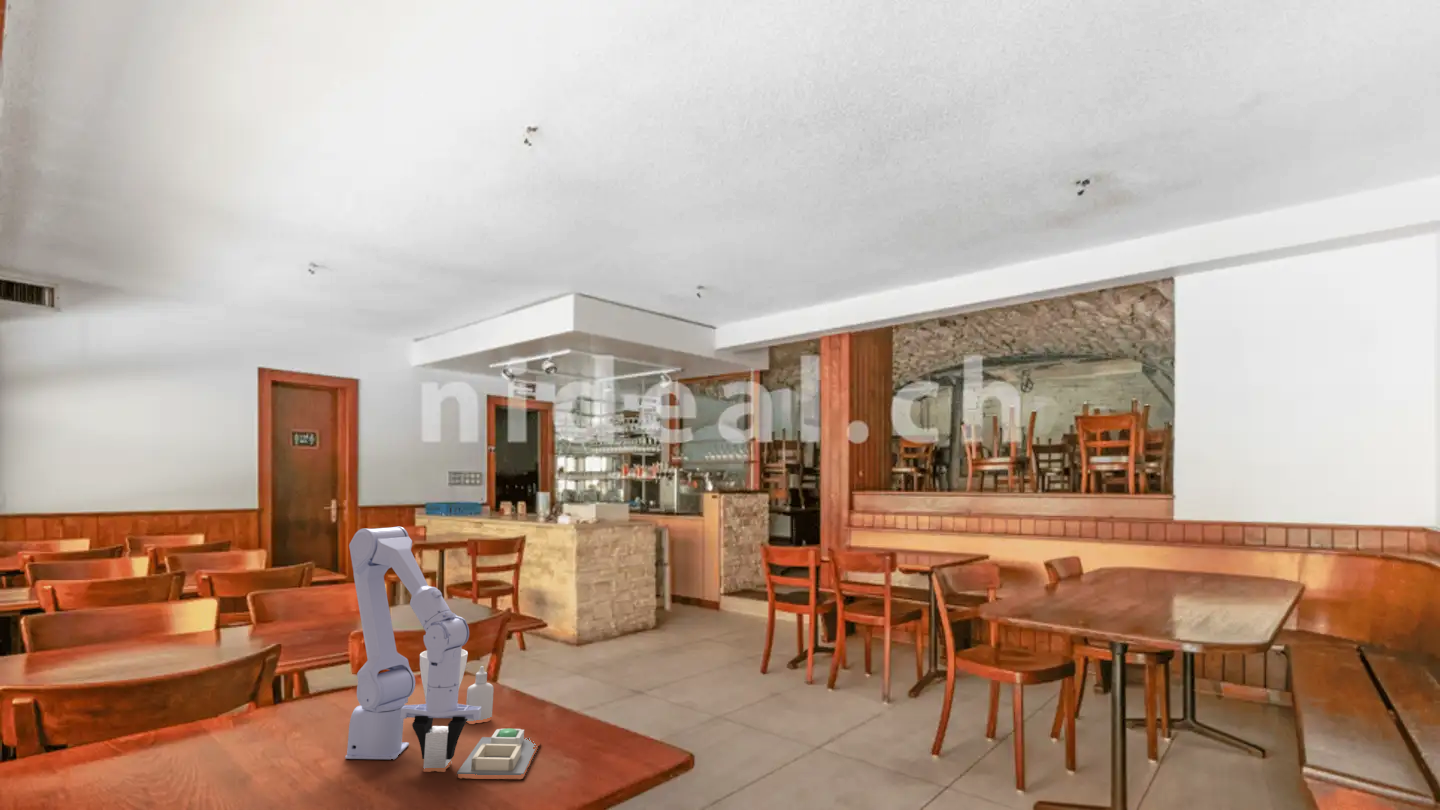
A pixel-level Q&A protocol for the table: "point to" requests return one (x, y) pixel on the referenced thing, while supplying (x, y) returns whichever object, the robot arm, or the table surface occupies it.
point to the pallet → (499, 755)
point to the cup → (425, 668)
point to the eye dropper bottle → (481, 695)
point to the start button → (508, 733)
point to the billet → (436, 747)
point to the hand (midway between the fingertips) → (438, 757)
